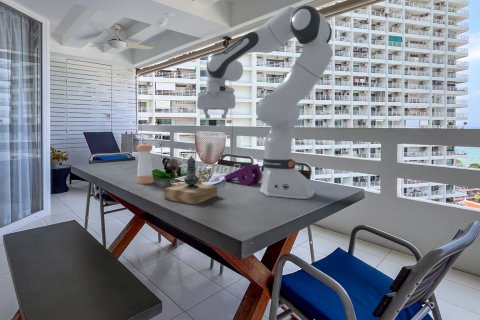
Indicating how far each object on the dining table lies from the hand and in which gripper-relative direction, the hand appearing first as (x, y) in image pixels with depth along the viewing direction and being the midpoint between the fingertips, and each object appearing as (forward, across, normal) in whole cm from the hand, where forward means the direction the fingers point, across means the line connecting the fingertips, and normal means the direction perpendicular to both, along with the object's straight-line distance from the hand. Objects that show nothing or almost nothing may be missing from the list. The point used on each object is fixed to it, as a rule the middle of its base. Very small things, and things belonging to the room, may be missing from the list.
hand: (215, 118), depth 132 cm
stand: (+31, +10, -31) cm, 45 cm away
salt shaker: (+31, -27, -20) cm, 46 cm away
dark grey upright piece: (+27, +10, -31) cm, 43 cm away
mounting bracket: (+32, +11, +6) cm, 34 cm away
